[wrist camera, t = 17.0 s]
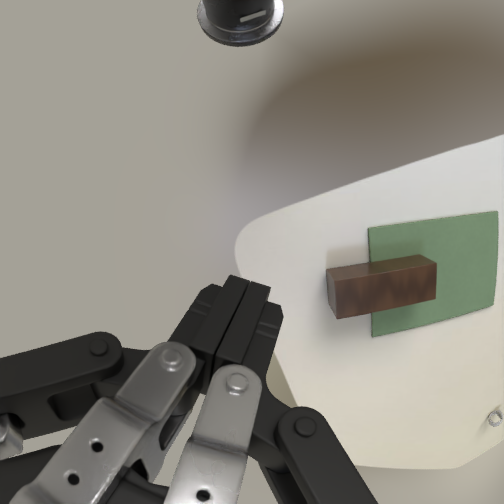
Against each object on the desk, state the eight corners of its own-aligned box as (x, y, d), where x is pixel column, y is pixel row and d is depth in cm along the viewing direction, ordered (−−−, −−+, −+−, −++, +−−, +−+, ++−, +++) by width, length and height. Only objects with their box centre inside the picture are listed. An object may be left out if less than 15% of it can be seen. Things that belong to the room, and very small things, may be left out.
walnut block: (334, 280, 35) (437, 262, 34) (325, 269, 40) (419, 253, 39) (336, 319, 36) (436, 299, 35) (328, 304, 41) (419, 287, 40)
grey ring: (485, 420, 47) (493, 430, 43) (485, 415, 47) (493, 425, 43) (497, 411, 47) (505, 420, 43) (497, 406, 46) (505, 416, 42)
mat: (367, 228, 39) (368, 228, 39) (496, 211, 38) (498, 211, 37) (371, 335, 42) (372, 337, 42) (491, 304, 41) (493, 305, 41)
